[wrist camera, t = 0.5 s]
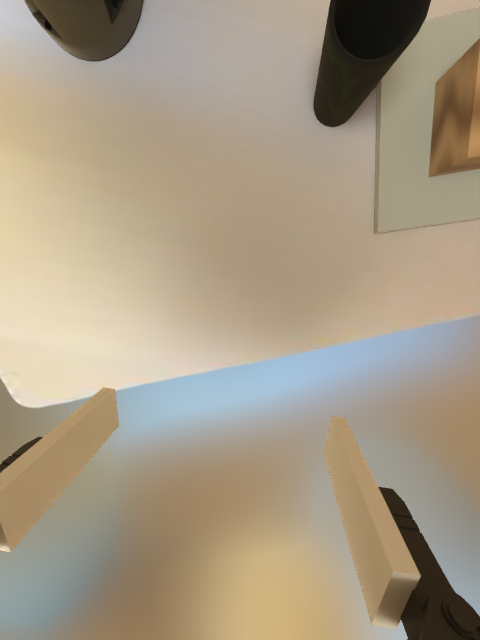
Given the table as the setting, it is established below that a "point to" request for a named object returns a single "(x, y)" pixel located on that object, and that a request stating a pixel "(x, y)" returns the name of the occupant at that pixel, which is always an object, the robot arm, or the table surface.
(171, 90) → the table surface
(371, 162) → the table surface
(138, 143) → the table surface
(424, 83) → the board
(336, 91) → the cup
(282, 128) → the table surface
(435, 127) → the block
